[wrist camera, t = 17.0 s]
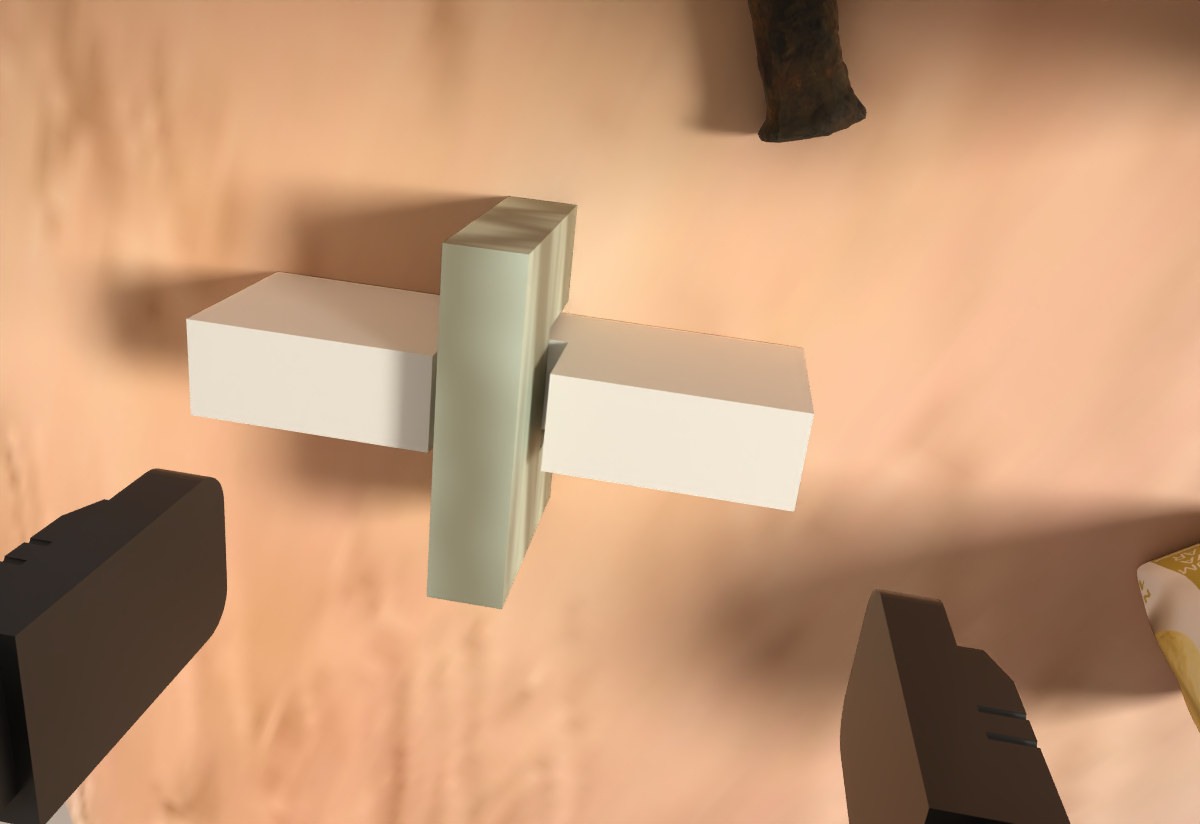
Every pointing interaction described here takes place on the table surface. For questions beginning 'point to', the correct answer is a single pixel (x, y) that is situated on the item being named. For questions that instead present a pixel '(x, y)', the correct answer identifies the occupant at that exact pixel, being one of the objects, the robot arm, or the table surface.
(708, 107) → the table surface
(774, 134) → the hand tool
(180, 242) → the table surface
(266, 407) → the slotted beam
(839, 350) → the table surface
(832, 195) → the table surface
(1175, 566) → the juice carton
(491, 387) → the slotted plate
